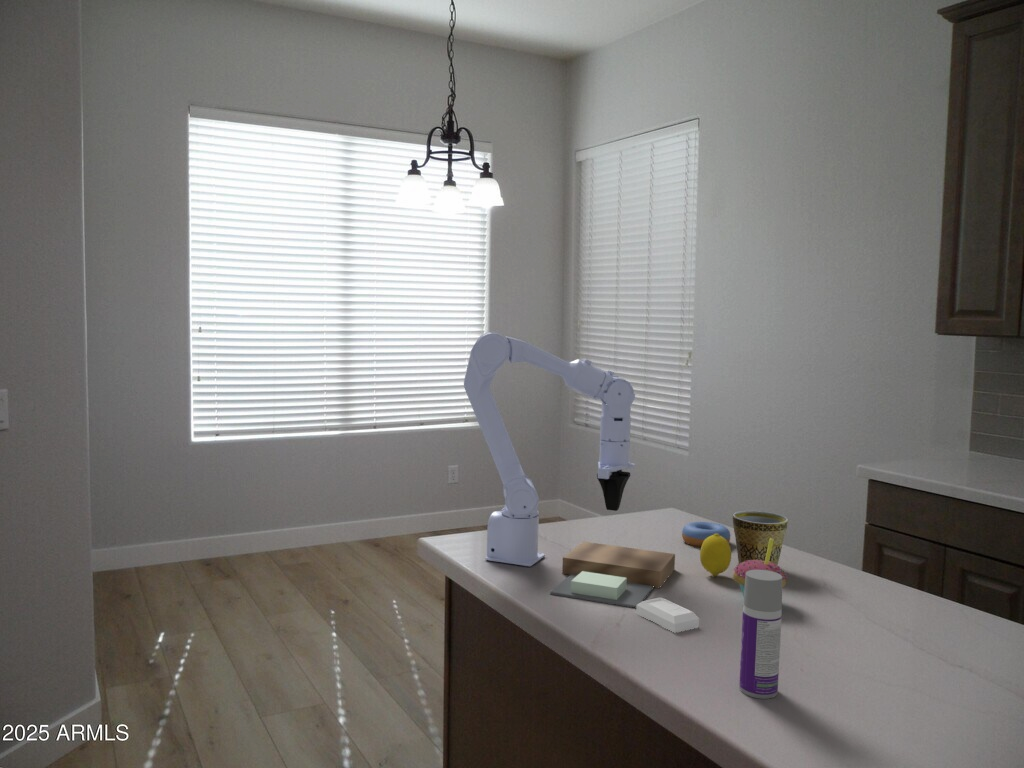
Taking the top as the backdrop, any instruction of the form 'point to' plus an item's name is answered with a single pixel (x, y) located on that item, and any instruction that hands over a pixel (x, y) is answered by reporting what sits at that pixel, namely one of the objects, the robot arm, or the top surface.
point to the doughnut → (703, 532)
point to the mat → (628, 598)
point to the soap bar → (667, 614)
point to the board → (620, 563)
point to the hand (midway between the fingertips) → (612, 509)
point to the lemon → (715, 554)
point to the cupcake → (757, 568)
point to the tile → (598, 585)
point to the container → (761, 634)
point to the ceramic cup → (758, 534)
